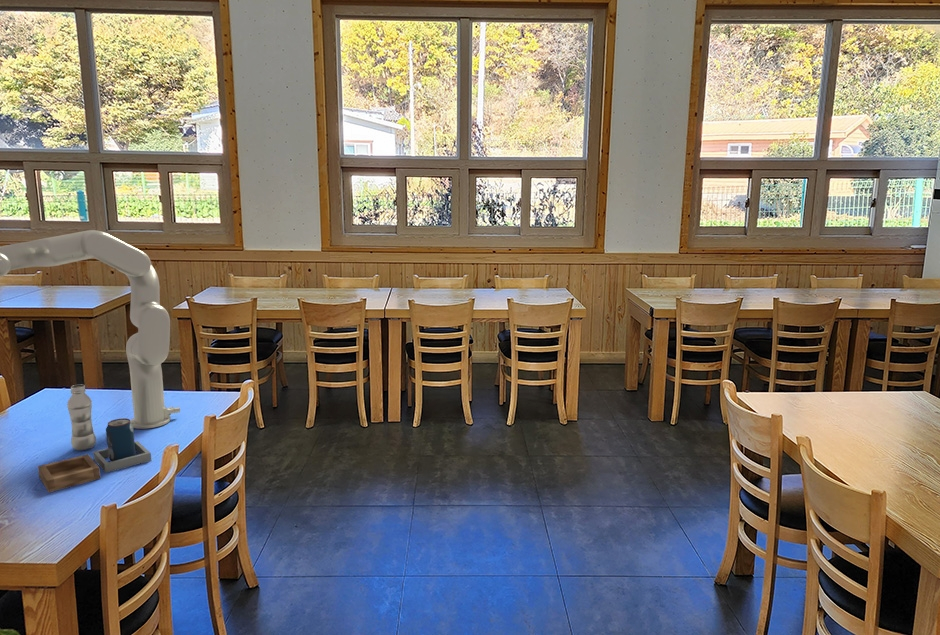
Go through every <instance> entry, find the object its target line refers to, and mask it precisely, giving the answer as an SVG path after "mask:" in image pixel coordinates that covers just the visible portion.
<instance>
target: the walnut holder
mask: <svg viewBox="0 0 940 635" xmlns="http://www.w3.org/2000/svg"><path fill="white" fill-rule="evenodd" d="M37 470H38V478H39V480H40V481H41V483H42V484H43V486H44V487H45V489H46V490H47V493H53V492H56V491H59V489H60V490H63V488H64V489H67V488H66V487H68V488H71V487H75V486H79V485H82V484H85V482H86V483H89V481H90V482H93V481H92V480H94V481H97V480H101V470H100V466H99V465H98V464H97V462H96V461H95V460H94V459H93V458H92V457H91V456H90V455H89V454H83V455H78V456H75V457H74V456H73V457H71V458H66V459H62V460H58V461H54V462H51V463H50V462H49V463H44V464H42V465H38V466H37ZM96 479H97V480H96ZM78 484H79V485H78ZM74 485H75V486H74ZM70 486H71V487H70ZM55 490H56V491H55ZM52 491H53V492H52Z"/></svg>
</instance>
